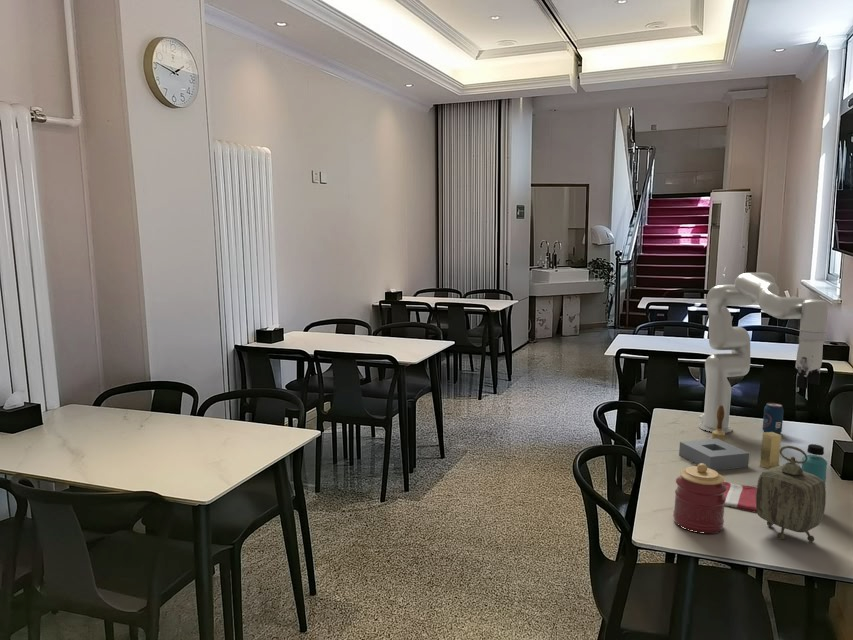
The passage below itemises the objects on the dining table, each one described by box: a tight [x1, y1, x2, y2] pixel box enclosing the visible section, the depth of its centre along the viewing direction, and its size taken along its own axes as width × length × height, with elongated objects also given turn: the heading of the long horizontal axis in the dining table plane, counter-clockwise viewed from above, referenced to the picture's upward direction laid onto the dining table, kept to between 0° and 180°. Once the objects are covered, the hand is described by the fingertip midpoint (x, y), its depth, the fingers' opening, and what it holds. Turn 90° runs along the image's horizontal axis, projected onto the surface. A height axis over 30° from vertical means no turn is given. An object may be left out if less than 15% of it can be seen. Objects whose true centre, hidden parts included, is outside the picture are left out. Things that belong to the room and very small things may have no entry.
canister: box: [672, 463, 727, 534], centre depth 177 cm, size 13×13×18 cm
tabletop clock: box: [756, 445, 827, 542], centre depth 170 cm, size 14×9×25 cm, turn 35°
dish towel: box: [722, 481, 757, 513], centre depth 197 cm, size 17×23×3 cm
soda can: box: [762, 402, 785, 435], centre depth 259 cm, size 7×7×12 cm
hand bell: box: [710, 405, 727, 443], centre depth 242 cm, size 8×8×16 cm
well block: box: [678, 438, 750, 471], centre depth 227 cm, size 16×16×5 cm
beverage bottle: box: [801, 443, 828, 490], centre depth 186 cm, size 6×7×20 cm
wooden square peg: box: [759, 431, 782, 470], centre depth 221 cm, size 4×4×12 cm
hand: (807, 386), depth 217 cm, fingers open, 9 cm apart
